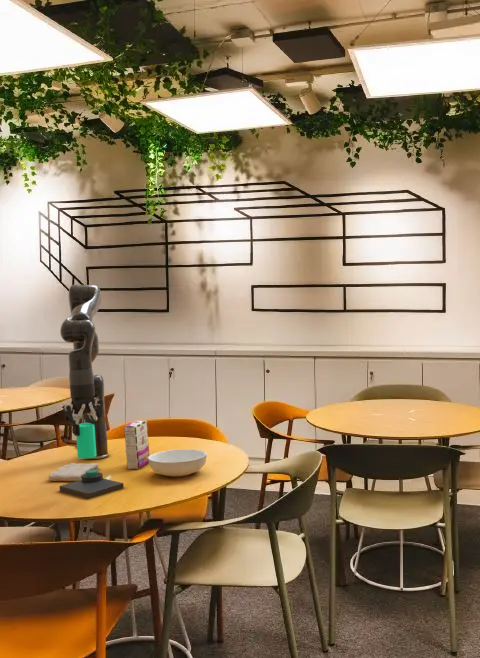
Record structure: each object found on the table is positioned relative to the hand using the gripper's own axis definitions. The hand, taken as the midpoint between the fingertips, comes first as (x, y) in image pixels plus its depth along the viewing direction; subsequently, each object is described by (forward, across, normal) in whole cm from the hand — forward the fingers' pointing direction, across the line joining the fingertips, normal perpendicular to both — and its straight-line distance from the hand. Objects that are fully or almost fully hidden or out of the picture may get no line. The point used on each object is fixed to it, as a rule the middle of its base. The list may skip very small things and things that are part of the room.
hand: (85, 433), depth 219 cm
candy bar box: (+20, -33, -15) cm, 42 cm away
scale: (+20, -3, -3) cm, 21 cm away
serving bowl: (+20, -33, +7) cm, 39 cm away
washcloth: (+20, -11, -24) cm, 33 cm away
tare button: (+17, -7, -8) cm, 20 cm away
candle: (+8, 0, 0) cm, 8 cm away
